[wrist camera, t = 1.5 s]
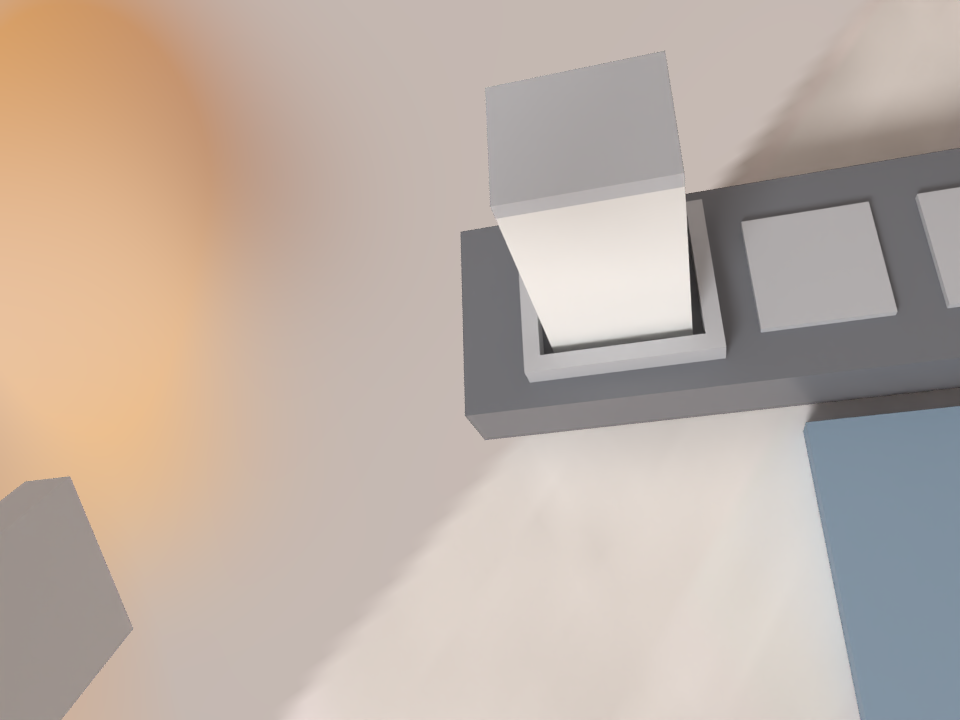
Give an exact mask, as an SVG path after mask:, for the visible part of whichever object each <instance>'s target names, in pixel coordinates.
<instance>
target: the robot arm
mask: <svg viewBox="0 0 960 720" xmlns="http://www.w3.org/2000/svg"><path fill="white" fill-rule="evenodd" d="M132 630H133V627H132V625H131V622H130V620H129V617H128V615H127V612H126V610H125V608H124V605H123V603H122V600H121V598H120V596H119V593H118V591H117V588H116V586H115V583H114V581H113V579H112V576H111V574H110V571H109V569H108V567H107V564H106V562H105V560H104V557H103V555H102V552H101V550H100V547H99V545H98V543H97V540H96V538H95V535H94V533H93V530H92V528H91V526H90V524H89V521H88V519H87V516H86V514H85V511H84V509H83V506H82V504H81V502H80V499H79V497H78V495H77V492H76V490H75V487H74V485H73V482H72V480H71V478H70V477H61V478H53V479H44V480H35V481H28V482H24V483H23V484H22V485H20V486H19V487H18V488H16V489H15V490H14V491H13V492H11V493H10V494H9V495H7V496H6V497H5V498H4V499H2V500H1V501H0V720H61V719H62V718H63V717H64V716H65V714H66V713H67V712H68V710H69V709H70V708H71V707H72V705H73V704H74V703H75V702H76V700H77V699H78V698H79V697H80V695H81V694H82V693H83V692H84V690H85V689H86V688H87V686H88V685H89V684H90V683H91V681H92V680H93V679H94V678H95V676H96V675H97V674H98V673H99V671H100V670H101V669H102V667H103V666H104V665H105V664H106V662H107V661H108V660H109V658H110V657H111V656H112V655H113V654H114V652H115V651H116V650H117V648H118V647H119V646H120V645H121V644H122V642H123V641H124V639H125V638H126V637H127V636H128V635H129V633H130V632H131V631H132Z"/></svg>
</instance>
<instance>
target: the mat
mask: <svg viewBox="0 0 960 720" xmlns="http://www.w3.org/2000/svg"><path fill="white" fill-rule="evenodd" d="M803 432H804V437H805V442H806V447H807V452H808V457H809V462H810V467H811V472H812V477H813V482H814V487H815V492H816V497H817V502H818V507H819V512H820V517H821V522H822V527H823V532H824V537H825V542H826V547H827V553H828V558H829V563H830V568H831V573H832V578H833V583H834V588H835V593H836V598H837V603H838V608H839V613H840V618H841V623H842V628H843V633H844V638H845V643H846V648H847V653H848V658H849V663H850V668H851V673H852V679H853V684H854V689H855V694H856V699H857V704H858V709H859V714H860V719H861V720H960V406H955V407H946V408H936V409H927V410H917V411H908V412H899V413H889V414H880V415H870V416H861V417H851V418H842V419H833V420H823V421H814V422H806V424H805V427H804V431H803Z"/></svg>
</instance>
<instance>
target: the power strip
mask: <svg viewBox="0 0 960 720" xmlns="http://www.w3.org/2000/svg"><path fill="white" fill-rule="evenodd" d="M685 195H686V214H687V234H688V253H689V272H690V292H691V311H692V330H693V335H690V336H682V337H674V338H667V339H659V340H652V341H644V342H636V343H629V344H621V345H613V346H606V347H598V348H591V349H583V350H575V351H568V352H560V353H554V351H553V349H552V347H551V344H550V342H549V340H548V338H547V335H546V333H545V331H544V328H543V326H542V324H541V322H540V319H539V317H538V315H537V312H536V310H535V308H534V305H533V303H532V301H531V299H530V296H529V294H528V292H527V289H526V287H525V285H524V283H523V280H522V278H521V276H520V273H519V271H518V269H517V267H516V264H515V262H514V260H513V257H512V255H511V253H510V251H509V248H508V246H507V244H506V241H505V239H504V237H503V234H502V232H501V230H500V228H499V225H498V226H492V227H486V228H481V229H475V230H469V231H463V232H461V262H462V263H461V266H462V306H463V346H464V385H465V416H466V417H467V419H468V420H469V421H470V422H471V424H472V425H473V426H474V427H475V428H476V430H477V431H478V432H479V433H480V434H481V436H482V437H483V438H484V439H485V440H489V439H498V438H507V437H516V436H525V435H534V434H543V433H552V432H561V431H570V430H579V429H588V428H598V427H607V426H616V425H625V424H634V423H643V422H652V421H661V420H670V419H679V418H688V417H697V416H706V415H715V414H724V413H733V412H742V411H752V410H761V409H770V408H779V407H788V406H797V405H806V404H815V403H824V402H833V401H842V400H851V399H860V398H869V397H878V396H887V395H896V394H906V393H915V392H924V391H933V390H942V389H951V388H960V148H956V149H950V150H945V151H939V152H933V153H927V154H921V155H915V156H909V157H903V158H897V159H891V160H885V161H879V162H873V163H867V164H861V165H855V166H849V167H843V168H837V169H831V170H826V171H820V172H814V173H808V174H802V175H796V176H790V177H784V178H778V179H772V180H766V181H760V182H754V183H748V184H742V185H736V186H730V187H724V188H718V189H713V190H707V191H701V192H695V193H689V194H685Z"/></svg>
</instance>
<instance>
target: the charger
mask: <svg viewBox="0 0 960 720" xmlns="http://www.w3.org/2000/svg"><path fill="white" fill-rule="evenodd" d="M485 92H486V115H487V137H488V139H487V140H488V163H489V186H490V207H491V209H492V212H493V214H494V216H495V218H496V221H497V223H498V225H499V228H500V230H501V232H502V234H503V237H504V239H505V241H506V244H507V246H508V248H509V251H510V253H511V255H512V257H513V260H514V262H515V264H516V267H517V269H518V271H519V273H520V276H521V278H522V280H523V283H524V285H525V287H526V289H527V292H528V294H529V296H530V299H531V301H532V303H533V305H534V308H535V310H536V312H537V315H538V317H539V319H540V322H541V324H542V326H543V328H544V331H545V333H546V335H547V338H548V340H549V342H550V344H551V347H552V349H553V351H554V353H560V352H568V351H575V350H583V349H591V348H598V347H606V346H613V345H621V344H629V343H636V342H644V341H652V340H659V339H667V338H674V337H682V336H690V335H693V330H692V311H691V292H690V272H689V253H688V234H687V214H686V195H685V176H684V168H683V161H682V155H681V149H680V143H679V136H678V130H677V124H676V117H675V111H674V105H673V98H672V92H671V85H670V79H669V73H668V66H667V60H666V54H665V51H662V52H657V53H652V54H647V55H642V56H637V57H633V58H628V59H623V60H618V61H613V62H608V63H603V64H599V65H594V66H589V67H584V68H579V69H574V70H569V71H565V72H560V73H555V74H550V75H545V76H540V77H535V78H531V79H526V80H521V81H516V82H511V83H506V84H501V85H497V86H492V87H487V88H485Z"/></svg>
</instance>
